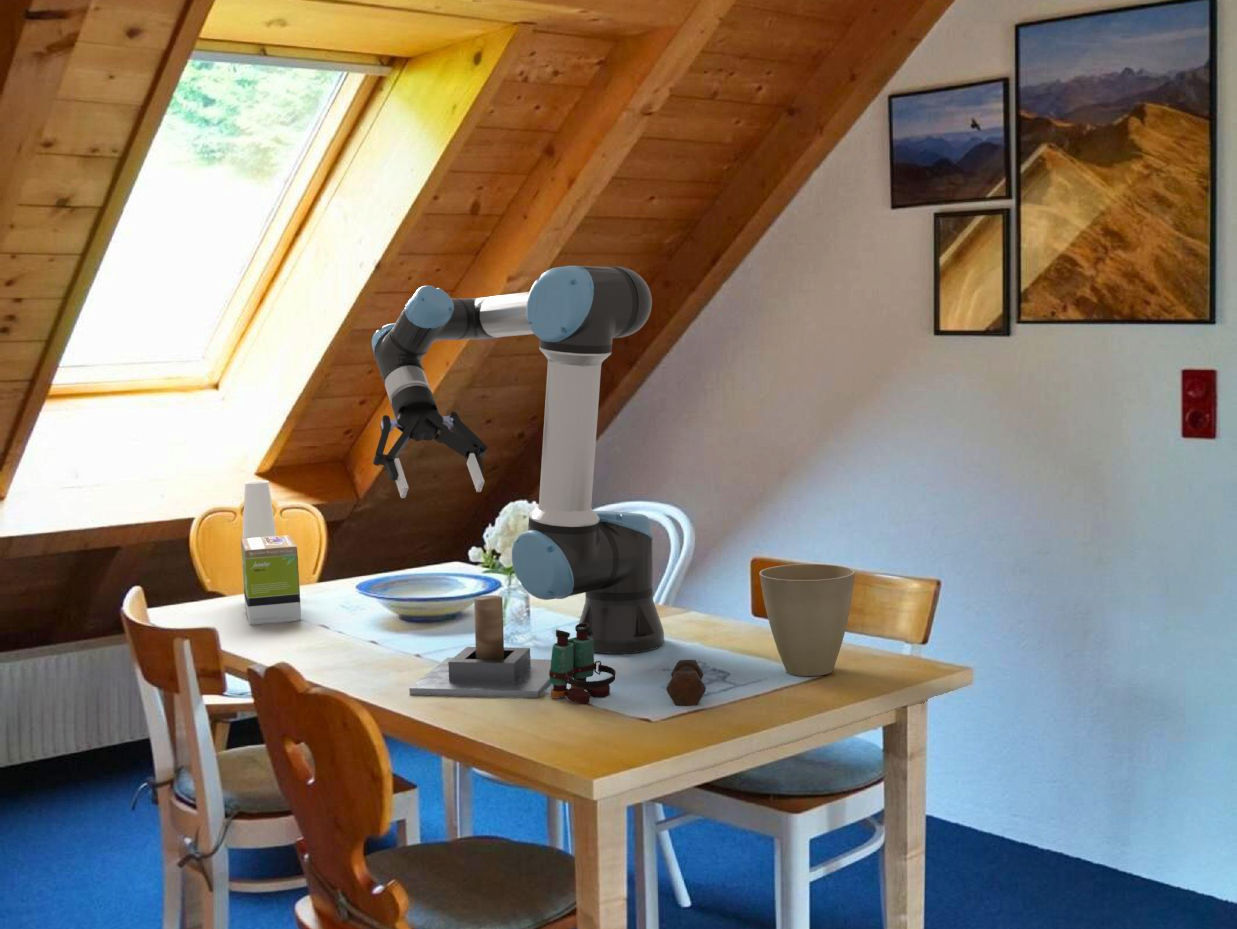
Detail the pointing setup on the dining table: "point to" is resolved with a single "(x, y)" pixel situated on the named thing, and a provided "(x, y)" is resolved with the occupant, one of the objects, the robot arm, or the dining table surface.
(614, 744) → the dining table surface
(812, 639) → the plant pot
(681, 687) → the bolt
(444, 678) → the socket
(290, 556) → the tea box
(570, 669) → the binoculars
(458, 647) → the dining table surface
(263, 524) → the grey tapered column
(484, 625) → the peg
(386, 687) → the dining table surface
